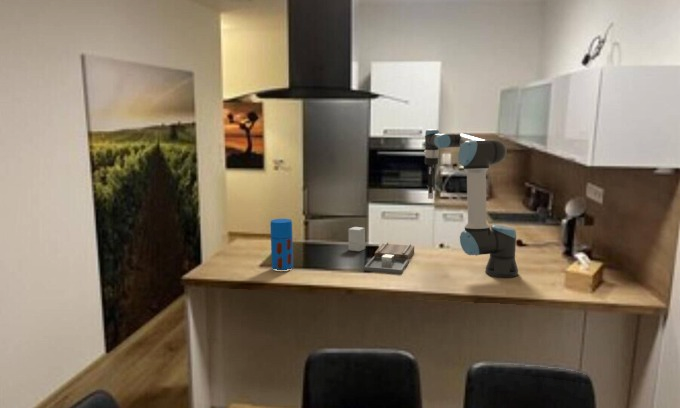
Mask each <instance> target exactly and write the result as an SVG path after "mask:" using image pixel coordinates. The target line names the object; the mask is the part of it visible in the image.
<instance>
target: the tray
mask: <svg viewBox="0 0 680 408" xmlns="http://www.w3.org/2000/svg"><path fill="white" fill-rule="evenodd" d="M409 261H410V260H409V259H402V258H394V263H393V266H392V267H382V257H376V256H375V255H374V256H372V258H371V259H370V260H368V261H367V263H366V264H365V265H364V267H363V271H365V272H372V273H373V272H375V273H388V274H398V275H402V274H403V273H404V271H405V269H406V267H407V266H408V264H409Z"/></svg>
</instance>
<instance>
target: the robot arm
mask: <svg viewBox="0 0 680 408" xmlns="http://www.w3.org/2000/svg"><path fill="white" fill-rule="evenodd" d="M424 133H425V136H424V151H423V153H424V164H425V165H428V167H427V185H426V188H427V191H428V192H427V193H428V194H427V199H430V200H431V199H432V200H433V199H434V187H435V171H436V167H435V165H439V152H440V151H439V150H440V149H446V148H459V149H458V153H457V159H458V162H459V163H458V164H459V165H460V166H463V168H462V169H463V171H464V172H465V173H466V193H467V195H466V197H467V198H466V200H467V201H466V202H467V224H466V225H465V226H464V230H463V231H462V232H460V235H459V244H460V246H461V249H462V251H463V252H464V253H465V254H466V255H468V256H476V257H477V256H481V255H489V258H488V260H487V263H486V266H485V274H487V275H488V276H491V277H494V278H500V279H501V278H504V279H508V278H509V279H510V278H515V277H517V276H518V275H519V268H518V265H517V261H516V245H517V231H516V230H515V229H514V228H512V227H509V226H504V225H499V224H498V225H496V224H495V225H491V226H490V225H489V224H488V223H487V220H488V219H487V180H486V179H487V174H486V173H487V171H488V170H489V169H490V166H491V165H497V164H500V163H501V162H502V161H504V159H505V158H506V156H507V151H508V150H507V146H506V145H505V143H504V142H502V141H501V140H496V139H484V138H480V137H477V136H473V135H472V134H471V133H467V132H463V133H440V131H439V129H426V130H425V132H424Z"/></svg>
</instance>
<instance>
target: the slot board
mask: <svg viewBox="0 0 680 408" xmlns="http://www.w3.org/2000/svg"><path fill="white" fill-rule="evenodd" d="M413 253H415V245H412V244H411V243H408V244H407V245H406V244H392V243H389V241H387V242H385V243H382V244H381V245H380V246H379V248H377V249H376V250H375V252H374V256H376V257H382V256H383V255H385V254H389V255H394V258H402V259H409V261H410V260H411V259H412V257H413V255H414V254H413Z"/></svg>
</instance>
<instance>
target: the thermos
mask: <svg viewBox="0 0 680 408" xmlns="http://www.w3.org/2000/svg"><path fill="white" fill-rule="evenodd" d="M269 226H270V246H271V247H270V251H271V252H270V253H271V269H272V268H273V269H277V270H287V269H291V268H293V269H294V251H293V250H294V248H293V247H294V246H293V242H294V241H293V223H292V219H290V218H274V219H272V220H270V225H269Z"/></svg>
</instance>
